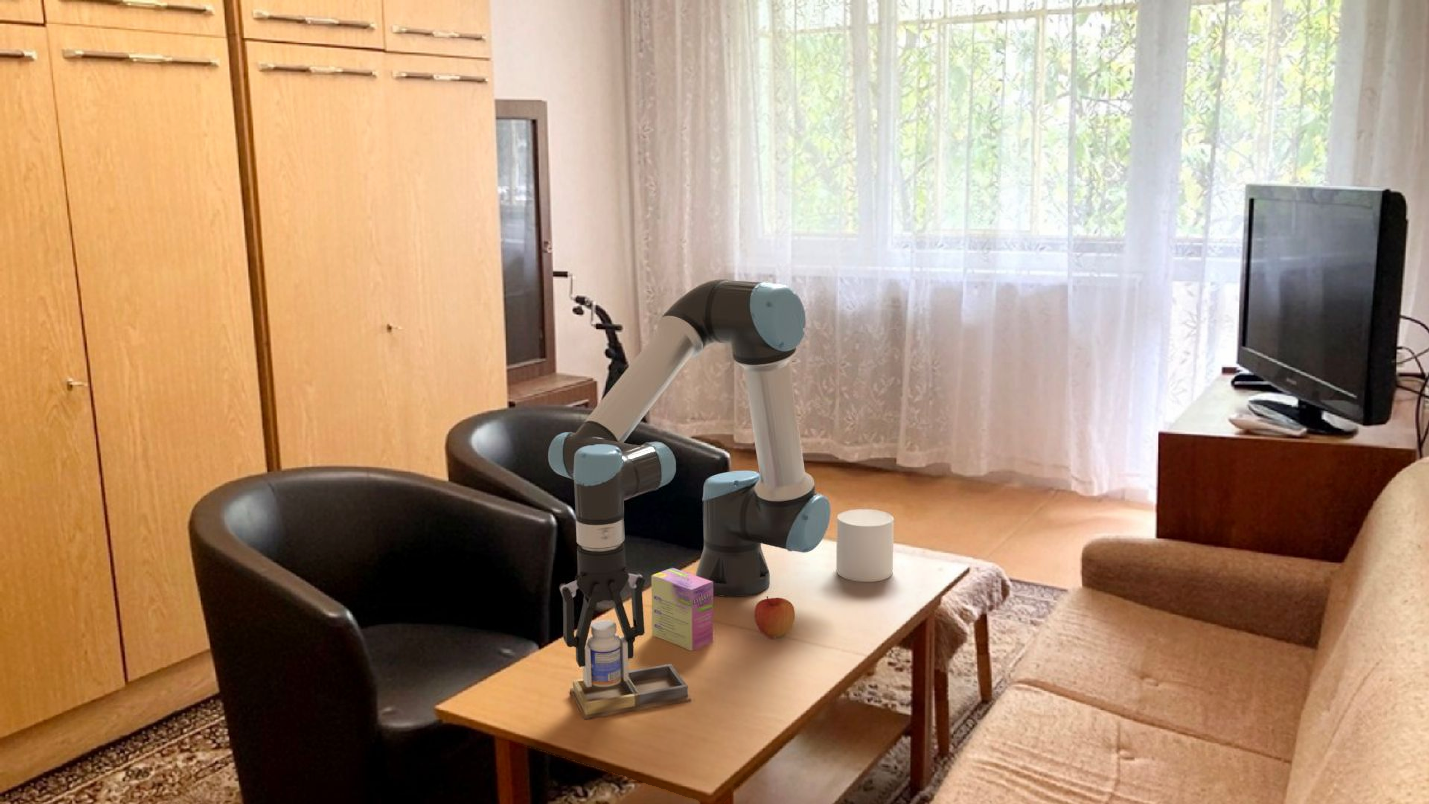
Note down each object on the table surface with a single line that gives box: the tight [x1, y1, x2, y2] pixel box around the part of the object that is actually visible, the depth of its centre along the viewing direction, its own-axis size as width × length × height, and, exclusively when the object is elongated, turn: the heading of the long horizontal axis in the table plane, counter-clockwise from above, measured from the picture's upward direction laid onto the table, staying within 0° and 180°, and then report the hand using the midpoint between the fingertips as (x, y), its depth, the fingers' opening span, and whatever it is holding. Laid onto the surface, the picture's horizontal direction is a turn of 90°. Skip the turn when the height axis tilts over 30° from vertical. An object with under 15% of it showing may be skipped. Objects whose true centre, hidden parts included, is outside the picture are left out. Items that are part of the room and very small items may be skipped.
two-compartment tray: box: [569, 663, 692, 720], centre depth 186 cm, size 18×10×2 cm, turn 110°
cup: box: [835, 508, 895, 583], centre depth 238 cm, size 12×12×12 cm
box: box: [650, 567, 714, 652], centre depth 206 cm, size 10×6×12 cm, turn 47°
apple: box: [754, 596, 796, 640], centre depth 207 cm, size 7×7×8 cm
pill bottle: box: [586, 619, 621, 687], centre depth 184 cm, size 5×5×10 cm
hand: (605, 679), depth 184 cm, fingers closed on pill bottle, 5 cm apart
